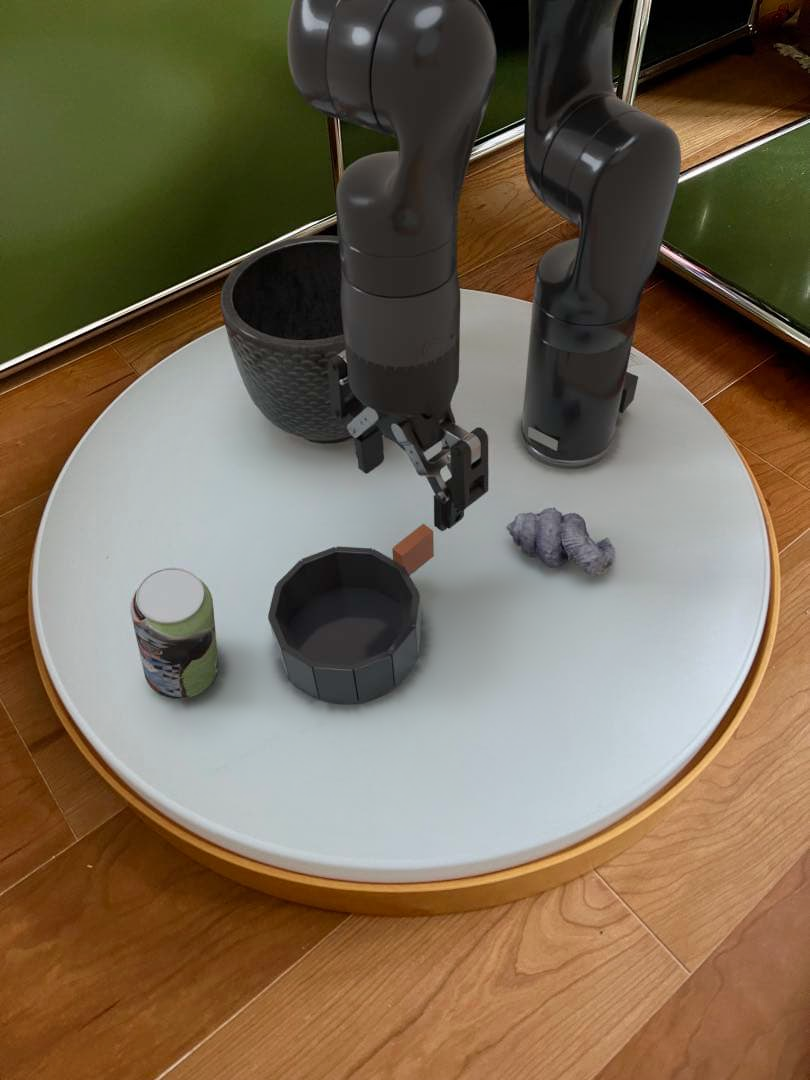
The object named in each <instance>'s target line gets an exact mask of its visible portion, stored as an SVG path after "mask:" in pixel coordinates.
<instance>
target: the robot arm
mask: <svg viewBox="0 0 810 1080" xmlns="http://www.w3.org/2000/svg"><path fill="white" fill-rule="evenodd" d="M623 1H624V0H528V21H529V23H528V60H527V61H528V62H527V65H528V66H527V79H526V95H525V110H524V111H525V112H524V113H525V114H524V127H523V128H524V129H523V168H524V174H525V178H526V182H527V184H528V186H529V189H530V190H531V192H532V194H533V195H534V196H535V197H536V198H537V200H538V201H540V202H541V203H542V204H543V205H544V206H546V207H547V208H548V209H550V210H551V211H553V212H554V213H555V214H557V215H558V216H560V217H562V219H564V220H565V221H567V222H569V223H570V224H571V225H573V226H575V227H576V228H577V229H578V231H579V232H578V233H579V234H578V237H575V238H570V239H566V240H563V241H560V242H558V243H557V244H554V245H553V246H551V247H550V248H548V249H547V250H545V252H543V254H542V255H541V257H540V258H539V259H538V262H537V264H536V267H535V273H534V281H533V294H532V304H531V305H532V306H531V318H530V319H531V320H530V329H529V330H530V331H529V341H528V352H527V353H528V354H527V364H526V375H525V387H524V399H523V408H522V417H521V422H520V431H519V432H520V433H519V435H520V439H521V442H522V445H523V446H524V448H525V449H526V450H527V452H528V453H530V455H532V456H533V457H535V458H536V459H538V460H539V461H541V462H543V463H545V464H547V465H550V466H553V467H554V466H555V467H560V468H570V469H572V468H580V467H586V466H590V465H592V464H595V463H596V462H599V461H600V460H602V459H603V458H604V457H606V456H607V455H608V454H609V452H610V451H611V450H612V447H613V444H614V440H615V435H616V426H617V421H618V415H619V413H620V414H624V412H625V411H626V410H627V408H628V407H629V406H630V405H631V403H633V401H634V399H635V395H636V389H637V385H638V381H639V376H638V375H636V374H633V373H631V372H628V366H629V361H630V357H631V350H632V346H633V340H634V336H635V331H636V326H637V320H638V315H639V310H640V306H641V300H642V295H643V292H644V289H645V287H646V285H647V283H648V281H649V279H650V277H651V275H652V273H653V271H654V269H655V268H656V264H657V262H658V259H659V256H660V252H661V249H662V244H663V240H664V236H665V232H666V230H667V226H668V222H669V218H670V216H671V211H672V207H673V204H674V201H675V198H676V193H677V190H678V189H677V188H678V185H679V180H680V175H681V167H682V150H681V144H680V143H681V142H680V139H679V137H678V135H677V134H676V132H675V131H674V129H673V128H671V127H670V126H669V125H668V124H666V123H665V122H663V121H661V120H660V119H657V118H655V116H652V115H650V114H648V113H647V112H645V111H644V110H641V109H639V108H637V107H635V106H633V104H630V103H628V102H626V101H624V100H623V99H621V98H619V97H618V96H617V94H616V91H615V87H614V81H613V49H614V37H615V35H614V34H615V28H616V21H617V17H618V13H619V11H620V8H621V5H622V3H623ZM286 33H287V34H286V52H287V63H288V68H289V72H290V75H291V79H292V82H293V84H294V86H295V89H296V91H297V92H298V94H299V96H300V97H301V99H302V101H304V102H305V103H306V104H307V105H308V106H309V107H310V108H311V109H313V110H315V111H317V112H319V113H320V114H323V115H324V116H327V117H330V118H333V119H335V120H336V119H337V120H339V121H342V122H346V123H348V124H353V125H356V126H358V127H359V126H360V127H362V128H365V129H368V130H370V131H371V130H372V131H374V132H377V133H381V134H383V135H387V136H390V137H393V138H395V141H396V145H397V150H394V151H393V150H391V151H381V152H376V153H372V154H369V155H368V154H367V155H366V156H363V157H360V158H359V159H357V160H355V161H353V162H352V163H350V164H349V166H347V167H346V168H345V170H343V172H342V173H341V175H340V178H339V179H338V182H337V186H336V190H335V213H336V214H335V217H336V229H337V230H336V231H337V236H338V241H339V251H340V261H341V295H340V300H341V313H342V322H343V332H344V342H345V350H344V351H342V352H340V353H339V354H337V355H336V356H334V357H333V358H331V359H330V360H328V375H329V388H330V401H331V411H332V414H333V416H334V417H335V418H336V419H337V420H339V421H340V420H342V419H343V418H344V419H345V420H346V422H347V423H348V425H347V429H348V431H349V433H350V434H351V435H352V436H353V437H354V438H353V443H354V444H353V445H354V449H355V450H354V453H355V454H354V455H355V457H356V460H357V468H358V469H359V470H360V471H361V472H363V473H364V474H369V473H370V472H372V471H374V470H375V469H376V468H378V467H379V466H380V465H382V464H383V462H384V461H385V449H384V447H385V446H384V438H386V439H387V440H389V441H390V442H394V443H396V444H397V445H398V446H399V447H400V449H402V450H403V451H404V452H405V453H406V454H407V456H408V458H409V459H410V462H411V464H412V466H413V468H414V469H415V471H416V473H417V475H418V476H420V477H425V478H426V479H427V481H428V484H429V485H430V487H431V489H432V491H433V493H434V495H433V526H434V527H435V528H436V529H438V531H440V532H444V531H446V530H447V529H448V530H451V528H452V527H454V526H455V525H456V524H458V523H459V522H460V521H462V520H463V518H464V517H465V510H466V509H468V507H470V506H471V505H472V504H474V503H475V502H476V501H478V500H479V499H480V498H481V497H483V496H484V495H486V494H487V493H488V492H489V435H488V433H487V432H486V430H485V429H484V428H482V427H481V426H477V427H475V428H474V429H472V430H471V431H467V430H466V429H464V428H463V427H461V426H459V425H458V424H456V417H455V416H454V412H453V410H452V405H451V402H452V399H453V397H454V395H455V391H456V389H457V386H458V382H459V378H460V345H461V344H460V343H461V341H460V340H461V286H460V279H459V270H458V227H459V205H460V200H461V196H462V191H463V188H464V183H465V179H466V175H467V173H468V168H469V164H470V160H471V157H472V154H473V150H474V145H475V143H476V141H477V140H476V139H477V136H478V133H479V130H480V127H481V124H482V121H483V118H484V115H485V114H486V110H487V107H488V104H489V100H490V97H491V94H492V90H493V87H494V83H495V78H496V72H497V59H498V56H497V44H496V39H495V34H494V30H493V28H492V23H491V21H490V19H489V17H488V15H487V12H486V11H485V8H484V7H483V6H482V4H481V3H480V1H478V0H292V3H291V7H290V12H289V18H288V22H287V32H286ZM349 394H350V396H349V397H348V398H346V396H347V395H349ZM345 398H346V399H345ZM364 405H366V406H367V407H366V408H365V407H364ZM439 443H441V449H440V451H439V452H437V453H436V454H435V455H433V456H432V457H431V458H429V459H427V457H426V455H425V453H426V452H427V451H428V450H430V449H432V448H433V447H434V446H436V445H437V444H439ZM445 467H447V469H448V472H449V473H450V475H451V477H450V478H449V479H447V480H446V481H445V480H444V478H443V476H442V474H441V471H442V470H443V469H444V468H445Z"/></svg>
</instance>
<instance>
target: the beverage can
mask: <svg viewBox="0 0 810 1080" xmlns="http://www.w3.org/2000/svg"><path fill="white" fill-rule="evenodd" d="M214 610H215V609H214V599H213V594H212V593H211V590H210V588H209V587H208V585H207V584H206V583H205V582H204V581H203V580H202V579H200V578H199V577H198V576H197V575H196V574H194V573H193V572H192V571H190V570H187V569H184V568H179V567H165V568H161V569H158V570H155V571H153V572H151V573H150V574H148V575H147V576H145V577H144V579H143V580H141V582H140V584H139V585H138V587H137V589H136V590H135V592H134V593H133V596H132V597H131V601H130V615H131V620H132V624H133V629H134V630H133V631H134V633H135V638H136V643H137V647H138V652H139V656H140V660H141V666H142V669H143V670H142V671H143V674H144V678H145V680H146V683H147V685H148V686H149V687H150V688H151V689H152V690H153V691H154V692H155V693H157V694H158V695H160V696H161V697H165V698H168V699H175V700H176V699H177V700H183V699H189V698H192V697H195V696H197V695H199V694H200V693H202V692H204V691H205V690H207V688H209V687H210V686H211V684H212V683H213V682H214V681H215V678H216V677H217V673H218V671H219V655H218V654H219V653H218V644H217V632H216V622H215V611H214Z"/></svg>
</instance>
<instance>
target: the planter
mask: <svg viewBox="0 0 810 1080" xmlns="http://www.w3.org/2000/svg"><path fill="white" fill-rule="evenodd" d="M340 295H341V261H340V251H339V241H338V235H307V236H300V237H296V238H295V237H294V238H291V239H290V238H289V239H286V240H282V241H280V242H276V243H273V244H271V245H267V246H265V247H263V248H261V249H260V250H257V251H256V252H253V253H252V254H250V255H249V256H248V257H246V258H244V259H243V260H242V261H241V262H240V263H239V264H237V265H236V266H235V267H234V268H233V270H232V271H231V272H230V273H229V274H228V276H227V277H226V280H225V281H224V283H223V286H222V289H221V293H220V310H221V315H222V318H223V322H224V326H225V329H226V334H227V338H228V342H229V346H230V349H231V353H232V356H233V358H234V362H235V364H236V368H237V370H238V372H239V375H240V377H241V380H242V383H243V385H244V387H245V389H246V392H247V393H248V395H249V397H250V399H251V400H252V402H253V404H254V405H255V407H256V408H257V409H258V410H259V411H260V412H261V414H262V415H263V416H264V417H265V418H266V419H267V421H269V422H270V423H272V425H274V426H275V427H277V428H278V429H280V430H282V431H284V432H286V433H287V434H290V435H293V436H295V437H298V438H302V439H304V440H305V441H308V442H311V443H315V444H321V445H334V444H340V443H344V442H347V441H350V440H352V439H354V437H353V436H352V435H351V434H350V433H349V431H348V429H347V425H348V423H347V422H346V420H345V419H344V418H343V419H342V420H340V421H339V420H337V419H336V418H335V417H334V416H333V414H332V411H331V401H330V388H329V375H328V360H330V359H331V358H333V357H334V356H336V355H337V354H339V353H340V352H342V351H344V350H345V342H344V332H343V322H342V313H341V300H340ZM349 396H350V394H349V395H347V396H346V398H348V397H349ZM346 398H345V399H346ZM364 407H365V408H366V407H367V406H366V405H364Z"/></svg>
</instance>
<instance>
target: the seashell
mask: <svg viewBox="0 0 810 1080" xmlns="http://www.w3.org/2000/svg"><path fill="white" fill-rule="evenodd" d="M562 513H563V512H562V511H559V510H558V509H556V507H555V506H554V507H548V508H544V509H543V510H541V512H539V513H534V512H527V513H525V512H521V513H518V514H517V515H515V517H514V520H512V521H511V522H509V523H508V524H507V525H506V526H505V528H506V529H507V531H508V533H509V535H510V536H511V537H512V540H513V543H514V544H515V546H518V547H519V548H520V549H521V552H522V553H523V554H524V555H526V556H527V557H529V558H530V559H531V558H532V559H534V558H536V559H539V560H540V562H541V563H542V564H543V565H544V566H546V567H549V568H550V569H555V568H562V567H563V566H564V565H566V564H567V563H568V562H569V561H570V559H571V560H572V561H573V562H574V563H576V564H577V566H579V568H581V570H582V571H583V572H584V573H587V574H588V575H589V576H591V577H595V576H598V575H599V574H603V573H605V572H606V571H607V570H608V569H609V568H610V567H612V565H613V562H614V561H615V559H616V547H615V546H614V545H613V544H612V542H611V539H610V538H609V537H604V538H603V539H601V541H599V542H597V543H596V541H594V540H593V538H591V537H590V534H589V532H588V530H587V525H586V524H587V523H586V522H585V519H584V517H583V516H581V515H580V514H579V513H576V512H569V513H565V514H562Z"/></svg>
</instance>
